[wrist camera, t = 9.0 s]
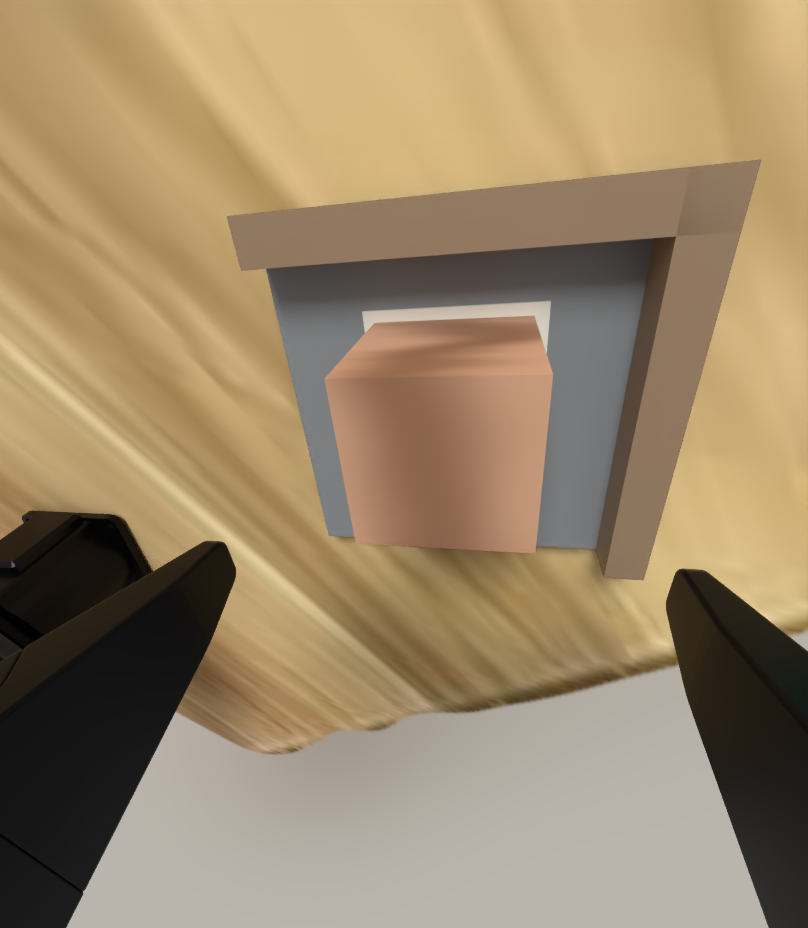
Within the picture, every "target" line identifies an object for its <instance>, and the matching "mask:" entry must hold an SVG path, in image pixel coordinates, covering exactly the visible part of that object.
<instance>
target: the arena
mask: <svg viewBox="0 0 808 928" xmlns="http://www.w3.org/2000/svg"><path fill="white" fill-rule="evenodd" d="M760 163H761V160H753V161H743V162H734V163H724V164H715V165H705V166H696V167H687V168H677V169H668V170H658V171H649V172H639V173H630V174H621V175H611V176H602V177H592V178H583V179H573V180H564V181H555V182H545V183H536V184H526V185H517V186H507V187H498V188H489V189H479V190H470V191H460V192H451V193H441V194H432V195H423V196H413V197H404V198H394V199H385V200H375V201H366V202H357V203H347V204H338V205H328V206H319V207H309V208H300V209H291V210H281V211H272V212H262V213H253V214H243V215H234V216H227V219H228V223H229V227H230V231H231V234H232V238H233V242H234V246H235V249H236V253H237V257H238V261H239V265H240V268H241V271H242V270H255V269H266V271H267V275H268V279H269V283H270V288H271V292H272V296H273V300H274V305H275V309H276V313H277V317H278V322H279V326H280V330H281V334H282V339H283V343H284V347H285V351H286V356H287V360H288V364H289V368H290V373H291V377H292V381H293V385H294V390H295V394H296V398H297V402H298V406H299V411H300V415H301V419H302V423H303V428H304V432H305V436H306V440H307V445H308V449H309V453H310V457H311V462H312V466H313V470H314V474H315V479H316V483H317V487H318V491H319V496H320V500H321V504H322V508H323V513H324V517H325V521H326V525H327V530H328V534H329V536H342V537H354V532H353V527H352V522H351V516H350V511H349V506H348V501H347V495H346V490H345V485H344V480H343V474H342V469H341V464H340V458H339V453H338V448H337V443H336V437H335V432H334V427H333V422H332V416H331V411H330V406H329V401H328V395H327V390H326V385H325V377H326V376H327V375H328V374H329V373H330V372H331V371H332V370H333V369H334V367H335V366H336V365H337V364H338V363H339V362H340V361H341V360H342V358H343V357H344V356H345V355H346V354H347V353H348V352H349V351H350V350H351V348H352V347H353V346H354V345H355V344H356V343H357V342H358V341H359V339H360V338H361V337H362V336H363V335H364V334H365V333H366V332H367V331H368V329H369V328H370V327H371V326H372V325H373V324H374V323H380V322H403V321H425V320H448V319H470V318H493V317H515V316H535V319H536V322H537V325H538V329H539V332H540V335H541V338H542V341H543V344H544V347H545V350H546V353H547V357H548V360H549V363H550V366H551V369H552V372H553V381H552V392H551V402H550V412H549V422H548V432H547V442H546V452H545V462H544V472H543V482H542V492H541V502H540V512H539V523H538V533H537V543H536V546H542V547H562V548H581V549H596V552H597V555H598V559H599V562H600V566H601V569H602V573H603V577H604V578H615V579H631V580H644V577H645V573H646V570H647V566H648V563H649V559H650V556H651V552H652V548H653V545H654V541H655V538H656V534H657V531H658V527H659V523H660V520H661V516H662V513H663V509H664V505H665V502H666V498H667V495H668V491H669V488H670V484H671V480H672V477H673V473H674V470H675V466H676V463H677V459H678V455H679V452H680V448H681V445H682V441H683V438H684V434H685V430H686V427H687V423H688V420H689V416H690V413H691V409H692V405H693V402H694V398H695V395H696V391H697V388H698V384H699V380H700V377H701V373H702V370H703V366H704V363H705V359H706V355H707V352H708V348H709V345H710V341H711V338H712V334H713V330H714V327H715V323H716V320H717V316H718V313H719V309H720V305H721V302H722V298H723V295H724V291H725V288H726V284H727V280H728V277H729V273H730V270H731V266H732V263H733V259H734V255H735V252H736V248H737V245H738V241H739V238H740V234H741V230H742V227H743V223H744V220H745V216H746V213H747V209H748V205H749V202H750V198H751V195H752V191H753V188H754V184H755V180H756V177H757V173H758V170H759V166H760Z"/></svg>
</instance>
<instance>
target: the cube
mask: <svg viewBox="0 0 808 928" xmlns="http://www.w3.org/2000/svg"><path fill="white" fill-rule="evenodd" d="M552 381H553V372H552V369H551V366H550V363H549V360H548V357H547V353H546V350H545V347H544V344H543V341H542V338H541V335H540V332H539V329H538V325H537V322H536V319H535V316H515V317H493V318H470V319H448V320H425V321H403V322H380V323H374V324H373V325H372V326H371V327H370V328H369V329H368V331H367V332H366V333H365V334H364V335H363V336H362V337H361V338H360V339H359V341H358V342H357V343H356V344H355V345H354V346H353V347H352V348H351V350H350V351H349V352H348V353H347V354H346V355H345V356H344V357H343V358H342V360H341V361H340V362H339V363H338V364H337V365H336V366H335V367H334V369H333V370H332V371H331V372H330V373H329V374H328V375H327V376H326V377H325V385H326V390H327V395H328V401H329V406H330V411H331V416H332V422H333V427H334V432H335V437H336V443H337V448H338V453H339V458H340V464H341V469H342V474H343V480H344V485H345V490H346V495H347V501H348V506H349V511H350V516H351V522H352V527H353V532H354V537H355V543H358V544H375V545H393V546H410V547H428V548H446V549H463V550H481V551H498V552H516V553H534V554H535V553H536V543H537V533H538V523H539V512H540V502H541V492H542V482H543V472H544V462H545V452H546V442H547V432H548V422H549V412H550V402H551V392H552Z"/></svg>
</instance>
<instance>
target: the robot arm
mask: <svg viewBox="0 0 808 928" xmlns="http://www.w3.org/2000/svg"><path fill="white" fill-rule="evenodd" d="M22 520H23V522H24V523H23V524H22V525H21V526H19V527H18V528H16V529H15V530H14V531H12V532H11V533H9V534H8V535H6V536H5V537H4V538H2V539H1V540H0V928H66V927H67V925H68V923H69V921H70V919H71V917H72V915H73V913H74V911H75V909H76V907H77V905H78V903H79V902H80V900H81V897H82V895H83V891H84V890H85V889H86V887H87V885H88V883H89V881H90V879H91V877H92V875H93V873H94V871H95V869H96V867H97V865H98V863H99V861H100V859H101V857H102V855H103V854H104V852H105V850H106V847H107V846H108V844H109V842H110V840H111V838H112V836H113V834H114V832H115V830H116V828H117V826H118V824H119V822H120V820H121V818H122V816H123V814H124V812H125V810H126V808H127V806H128V804H129V802H130V800H131V798H132V796H133V794H134V792H135V790H136V788H137V786H138V785H139V783H140V781H141V779H142V777H143V775H144V773H145V771H146V769H147V767H148V765H149V763H150V761H151V759H152V757H153V755H154V753H155V751H156V749H157V747H158V745H159V743H160V741H161V739H162V737H163V735H164V733H165V731H166V729H167V727H168V725H169V723H170V721H171V719H172V717H173V715H174V714H175V712H176V710H177V708H178V706H179V704H180V702H181V700H182V698H183V696H184V694H185V692H186V690H187V688H188V686H189V684H190V682H191V680H192V678H193V676H194V674H195V672H196V670H197V668H198V666H199V664H200V662H201V660H202V658H203V656H204V654H205V652H206V650H207V648H208V646H209V644H210V642H211V639H212V637H213V635H214V632H215V630H216V627H217V625H218V622H219V619H220V617H221V614H222V612H223V609H224V607H225V604H226V601H227V599H228V596H229V594H230V591H231V589H232V586H233V584H234V581H235V578H236V568H235V565H234V562H233V560H232V557H231V555H230V553H229V550H228V548H227V546H226V544H225V543H224V542H220V541H205V542H202V543H201V544H199V545H197V546H195V547H194V548H192V549H190V550H189V551H187V552H185V553H184V554H182V555H180V556H179V557H177V558H175V559H173V560H172V561H170V562H168V563H167V564H165V565H163V566H162V567H160V568H158V569H157V570H155V571H153V572H151V573H150V572H149V570H148V568H147V567H146V565H145V563H144V561H143V559H142V558H141V556H140V554H139V552H138V550H137V548H136V547H135V545H134V543H133V541H132V539H131V538H130V536H129V534H128V532H127V530H126V528H125V527H124V525H123V523H122V521H121V520H120V519H119V518H118V517H117V516H115V515H111V514H91V513H69V512H46V511H29V512H27V513H26V514H25V515H23V516H22ZM666 611H667V616H668V620H669V624H670V629H671V633H672V637H673V642H674V646H675V650H676V654H677V659H678V663H679V667H680V671H681V675H682V680H683V684H684V688H685V691H686V696H687V699H688V702H689V705H690V708H691V711H692V713H693V717H694V719H695V722H696V725H697V728H698V730H699V733H700V736H701V739H702V742H703V745H704V747H705V750H706V753H707V756H708V758H709V761H710V764H711V767H712V770H713V773H714V775H715V778H716V781H717V784H718V787H719V790H720V792H721V795H722V798H723V801H724V804H725V806H726V809H727V812H728V815H729V818H730V820H731V823H732V826H733V829H734V831H735V834H736V837H737V840H738V843H739V845H740V848H741V851H742V854H743V857H744V860H745V863H746V865H747V868H748V871H749V874H750V876H751V879H752V882H753V885H754V888H755V891H756V893H757V896H758V899H759V901H760V905H761V907H762V910H763V913H764V916H765V919H766V922H767V924H768V927H769V928H808V651H807V650H806V649H804V648H803V647H802V646H800V645H799V644H798V643H797V642H795V641H794V640H793V639H792V638H790V637H789V636H788V635H787V634H785V633H784V632H783V631H781V630H780V629H779V628H778V627H776V626H775V625H774V624H773V623H771V622H770V621H769V620H768V619H766V618H765V617H764V616H762V615H761V614H760V613H759V612H757V611H756V610H755V609H754V608H752V607H751V606H750V605H749V604H747V603H746V602H745V601H743V600H742V599H741V598H740V597H738V596H737V595H736V594H735V593H733V592H732V591H731V590H730V589H728V588H727V587H726V586H724V585H723V584H722V583H721V582H719V581H718V580H717V579H716V578H714V577H713V576H712V575H711V574H709V573H708V572H706V571H704V570H697V569H679V570H678V571H677V572H676V573H675V576H674V579H673V582H672V585H671V588H670V591H669V594H668V597H667V600H666Z"/></svg>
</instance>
